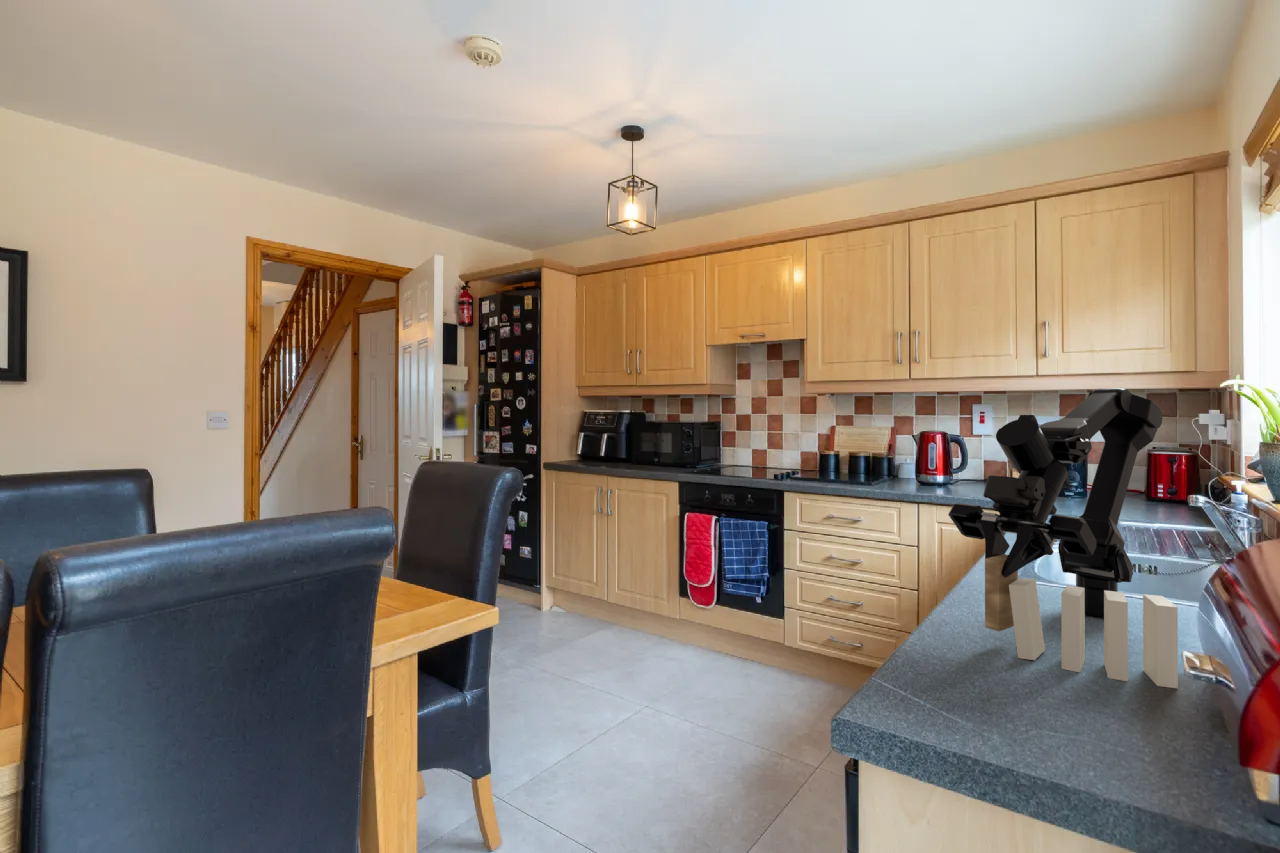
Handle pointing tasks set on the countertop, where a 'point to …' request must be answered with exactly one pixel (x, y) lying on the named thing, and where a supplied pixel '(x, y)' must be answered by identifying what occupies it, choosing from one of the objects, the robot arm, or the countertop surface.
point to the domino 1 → (998, 594)
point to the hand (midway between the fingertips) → (995, 573)
